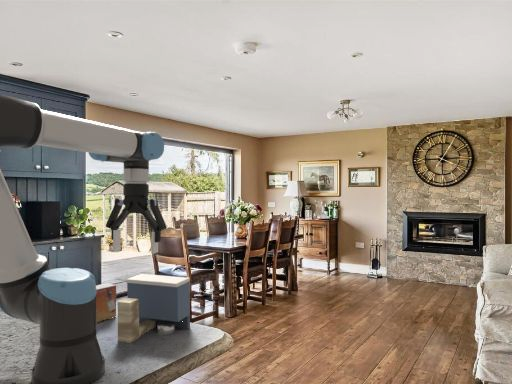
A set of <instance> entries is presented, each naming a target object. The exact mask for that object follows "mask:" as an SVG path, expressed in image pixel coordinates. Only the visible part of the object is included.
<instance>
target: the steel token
mask: <svg viewBox="0 0 512 384" xmlns="http://www.w3.org/2000/svg"><path fill="white" fill-rule="evenodd" d="M156 326H157V327H156V328H157V329H156V330H157V332H158V333H159V334H158V333H157V334H158V335H160V334H163V335H162V336H168V334H169V335H172V334H174V333H175V332H176V328H175V323H174V322H171V321H165V322H160V323H158V324H157V325H156Z"/></svg>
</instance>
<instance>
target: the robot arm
mask: <svg viewBox="0 0 512 384" xmlns="http://www.w3.org/2000/svg"><path fill="white" fill-rule="evenodd" d="M35 146H41V147H49V148H53V149H62V150H69V151H76V152H82V153H88V155H89V156H90V158H91V159H93V160H95V161H100V162H110V163H111V162H112V163H123V182H124V184H123V186H122V187H123V189H122V190H123V192H122V194H123V196H124V198H121V197H119V198H115V199H114V205H113V208H112V210H111V212H110V214H109V216H108V219H107V221H106V223H105V228H108V229H110V230H111V232H110V233H111V235H110V238H111V241H112V251H113V252H119V251H121V248H122V247H121V246H122V245H121V244H122V243H121V239H122V238H121V235H122V233H121V232H122V231H121V229H120V227H121V226H122V224H123V223H124V221H126V219H127V217H128V216H129V215H130V214H141V215H142V216H143V218H144V219H145V220H146V221H147V223H148V224H149V226H150V227H151V228H152V231H151V238H150V239H151V249H150V250H151V251H150V254H152V255H153V254H159V243H161V240H162V239H161V237H162V235H161V234H162V231H164V230H167V229H168V227H167V224H166V222H165V219H164V217H163V215H162V212H161V210H160V208H159V204H158V203H159V202H158V199H157V198H151V199H149V195H150V194H149V190H150V189H149V187H150V185H149V184H148V182H149V181H150V180H149V179H150V177H149V173H150V161H153V160H158V159H160V158H161V157H162V156H163V154H164V152H165V142H164V138H163V137H162V136H161V134H160V133H158V132H156V131H149V130H147V131H144V132H143V131H138V130H134V129H133V130H132V129H128V128H124V127H120V126H115V125H110V124H105V123H103V122H98V121H93V120H88V119H84V118H80V117H75V116H72V115H66V114H64V113H63V114H62V113H59V112H54V111H49V110H45V109H41V107H40V106H39V105H38V104H37V103H35V102H32V101H28V100H24V99H20V98H17V97H12V96H9V95H4V94H2V93H1V94H0V153H1V151H2V150H1V148H20V149H21V148H22V149H32V148H34V147H35ZM123 206H124V208H123ZM148 206H149V207H150V209H149V207H148ZM122 208H123V209H122ZM18 209H19V208H18V207H17V204H16V202H15V199H14V197H13V195H12V194H11V190H10V188H9V186H8V183H7V181H6V178H5V177H4V174H3V172H2V170H1V168H0V311H1V312H2V313H4V314H5V315H7V316H9V317H11V318H14V319H15V320H16V319H17V320H21V321H26V322H29V323H34V324H37V325H39V348H38V351H37V353H36V357H35V362H34V365H33V367H32V369H31V374H30V376H31V377H30V378H31V380H30V381H31V384H92V383H94V382H95V381H96V380H99V379H100V378H102V377H103V374H105V371H106V360H105V357H104V355H103V353H102V351H101V346H100V343H99V340H98V337H97V323H96V293H97V289H96V278H95V276H94V274H93V273H92V272H90V271H88V270H86V269H82V268H76V267H74V268H71V267H59V268H51V266H50V263H49V261H48V259H47V257H46V256H45V255H43V254H40V253H37V251H36V248H35V247H34V245H33V242H32V239H31V237H30V235H29V232H28V230H27V228H26V225H25V223H24V220H23V219H22V216H21V214H20V211H19V210H18ZM151 212H152V213H151Z"/></svg>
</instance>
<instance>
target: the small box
mask: <svg viewBox="0 0 512 384" xmlns="http://www.w3.org/2000/svg"><path fill="white" fill-rule="evenodd" d="M96 289H97V293H96V324H97V323H101V322H103V321H102V320H104V321H107V320H106V319H108V320H110V319H109V318H112V317H115V316H116V317H117V285H116V284H113V283H108V282H104V283H102V284H101V283H100V284H97V285H96ZM112 319H113V318H112Z"/></svg>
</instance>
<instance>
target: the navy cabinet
mask: <svg viewBox="0 0 512 384" xmlns="http://www.w3.org/2000/svg"><path fill="white" fill-rule="evenodd" d="M190 279H191V277H186V276H185V277H183V276H172V275H161V274H160V275H158V274H147V273H140V274H137V275H134V276H132V277H128V278H125V283H126V284H127V286H126V287H127V288H126V290H127V297H126V298H133V299H139V324H140V323H142V322H144V321H145V320H155V321H156V326H157V324H158V323H160V322H165V321H171V322H174V323H175V329H182V330H190V328H191V296H190V295H191V291H190V290H191V287H190V286H191V285H190V282H191V281H190ZM182 321H183V322H182Z"/></svg>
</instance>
